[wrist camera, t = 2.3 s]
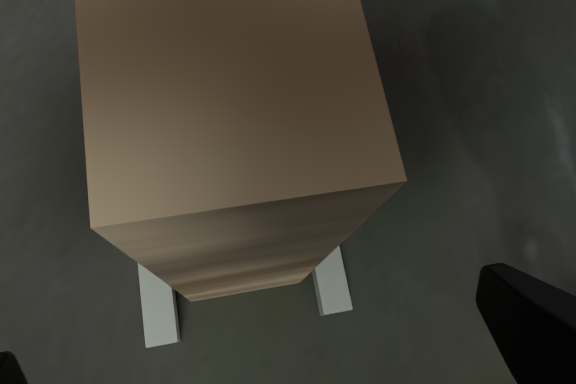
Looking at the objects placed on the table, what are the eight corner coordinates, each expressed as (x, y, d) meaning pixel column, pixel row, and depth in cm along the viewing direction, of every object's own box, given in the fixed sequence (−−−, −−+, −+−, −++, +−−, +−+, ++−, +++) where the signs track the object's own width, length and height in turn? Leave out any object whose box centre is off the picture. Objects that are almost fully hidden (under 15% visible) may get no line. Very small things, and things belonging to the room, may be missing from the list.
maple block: (299, 282, 21) (406, 181, 7) (191, 301, 20) (90, 227, 7) (279, 173, 22) (338, -82, 9) (177, 187, 21) (70, -65, 8)
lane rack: (360, 308, 20) (397, 299, 16) (135, 350, 19) (100, 354, 14) (321, 126, 23) (343, 71, 18) (117, 153, 21) (82, 100, 17)
